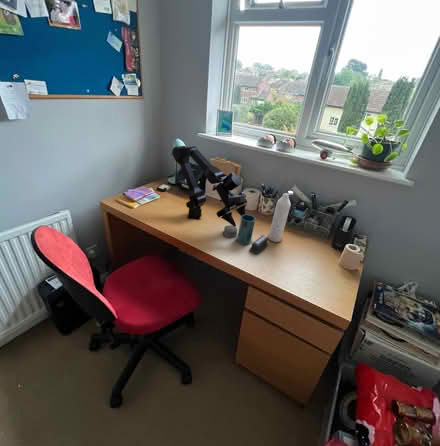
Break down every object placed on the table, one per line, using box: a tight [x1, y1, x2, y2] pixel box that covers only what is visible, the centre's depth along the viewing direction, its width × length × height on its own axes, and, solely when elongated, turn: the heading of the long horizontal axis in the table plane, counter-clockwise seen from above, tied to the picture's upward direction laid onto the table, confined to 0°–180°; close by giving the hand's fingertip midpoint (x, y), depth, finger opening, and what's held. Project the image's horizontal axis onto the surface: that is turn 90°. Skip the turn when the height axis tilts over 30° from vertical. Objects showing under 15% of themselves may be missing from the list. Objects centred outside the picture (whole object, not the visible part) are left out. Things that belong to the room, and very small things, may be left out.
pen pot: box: [236, 213, 256, 245], centre depth 118 cm, size 7×7×13 cm
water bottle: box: [267, 190, 294, 243], centre depth 120 cm, size 9×6×25 cm
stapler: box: [249, 235, 269, 255], centre depth 116 cm, size 10×4×4 cm, turn 142°
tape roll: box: [223, 224, 238, 238], centre depth 125 cm, size 7×7×3 cm
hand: (240, 223), depth 119 cm, fingers open, 9 cm apart
